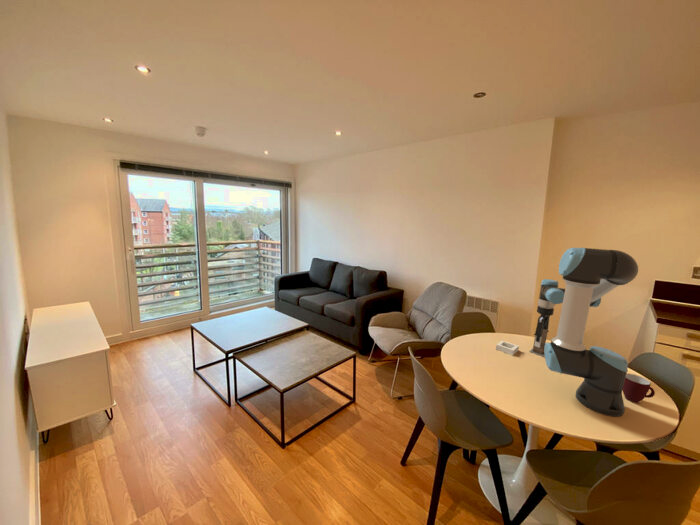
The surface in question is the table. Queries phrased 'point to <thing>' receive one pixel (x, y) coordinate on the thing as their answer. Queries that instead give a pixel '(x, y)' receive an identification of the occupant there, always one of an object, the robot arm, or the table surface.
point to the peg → (543, 341)
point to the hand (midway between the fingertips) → (539, 344)
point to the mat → (536, 353)
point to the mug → (636, 388)
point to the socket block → (507, 347)
